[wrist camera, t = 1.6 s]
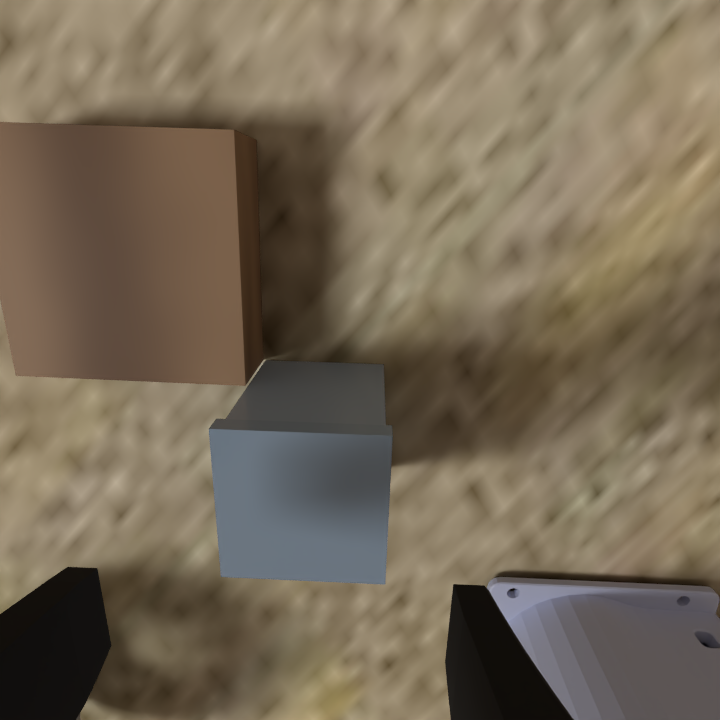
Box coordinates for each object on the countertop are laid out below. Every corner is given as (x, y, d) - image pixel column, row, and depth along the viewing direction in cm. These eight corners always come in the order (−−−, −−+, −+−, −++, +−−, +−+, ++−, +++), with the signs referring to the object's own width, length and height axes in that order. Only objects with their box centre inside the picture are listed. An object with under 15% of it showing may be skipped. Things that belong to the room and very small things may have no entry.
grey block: (387, 360, 18) (392, 435, 12) (382, 471, 20) (384, 584, 14) (261, 355, 18) (208, 429, 12) (266, 466, 20) (220, 577, 14)
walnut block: (259, 141, 16) (233, 129, 13) (265, 356, 19) (245, 385, 16) (35, 134, 16) (-37, 120, 13) (70, 348, 19) (15, 375, 16)
